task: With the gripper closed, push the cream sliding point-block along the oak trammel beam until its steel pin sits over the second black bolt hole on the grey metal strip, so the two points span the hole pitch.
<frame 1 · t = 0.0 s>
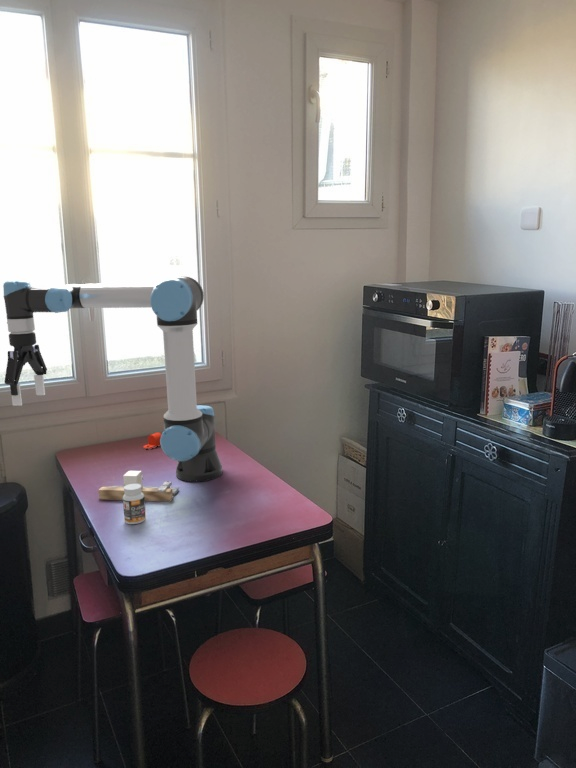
hand: (29, 400, 194), 28 cm above the table, fingers open, 13 cm apart
beam: (136, 498, 187), on the table
hole plate: (141, 492, 192), on the table
pill bottle: (135, 521, 172), on the table
bracket: (155, 446, 238), on the table
fixed leg: (163, 499, 186), resting on beam
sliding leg: (135, 483, 188), point 4 cm above the table, slide at 0.0 cm
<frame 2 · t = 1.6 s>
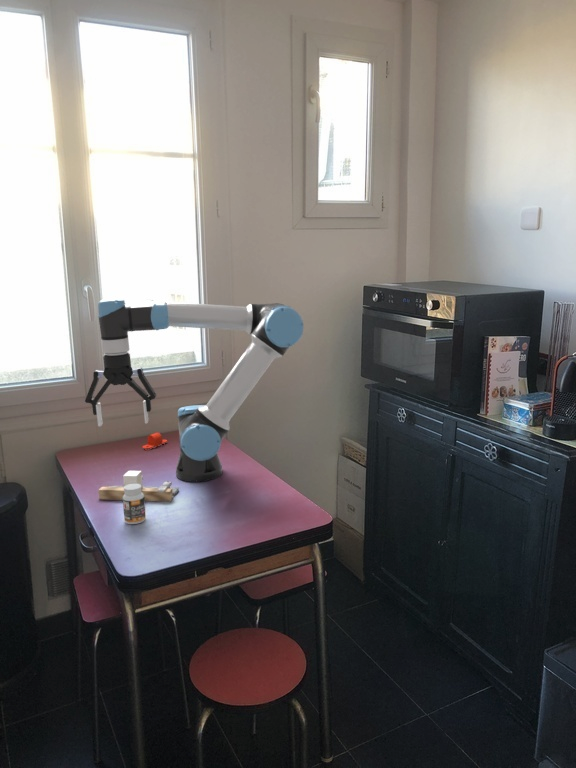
hand: (123, 423, 185), 23 cm above the table, fingers open, 13 cm apart
nothing on the table moved.
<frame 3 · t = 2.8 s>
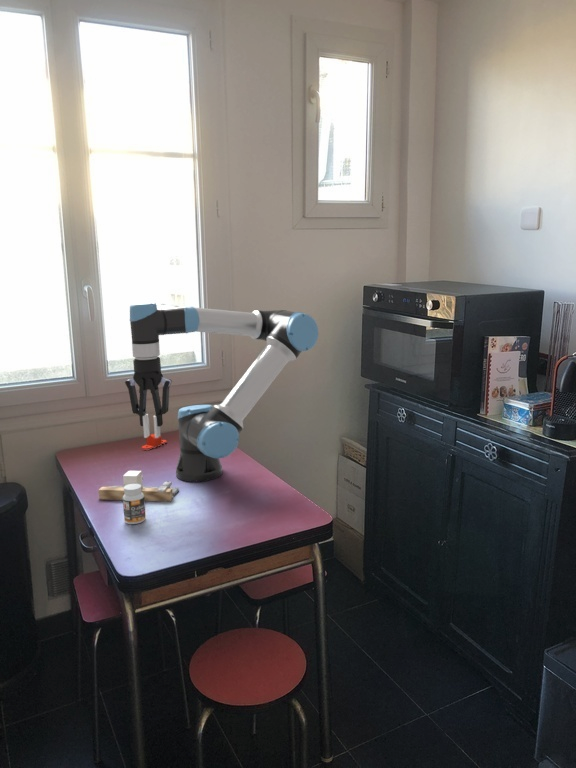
hand: (152, 436, 182), 20 cm above the table, fingers open, 3 cm apart
nothing on the table moved.
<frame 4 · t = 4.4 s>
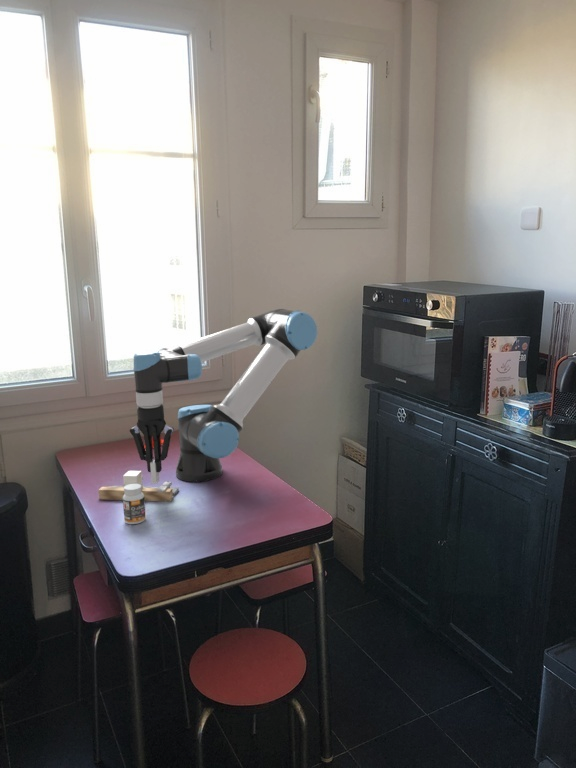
hand: (155, 482, 185), 5 cm above the table, fingers closed
nothing on the table moved.
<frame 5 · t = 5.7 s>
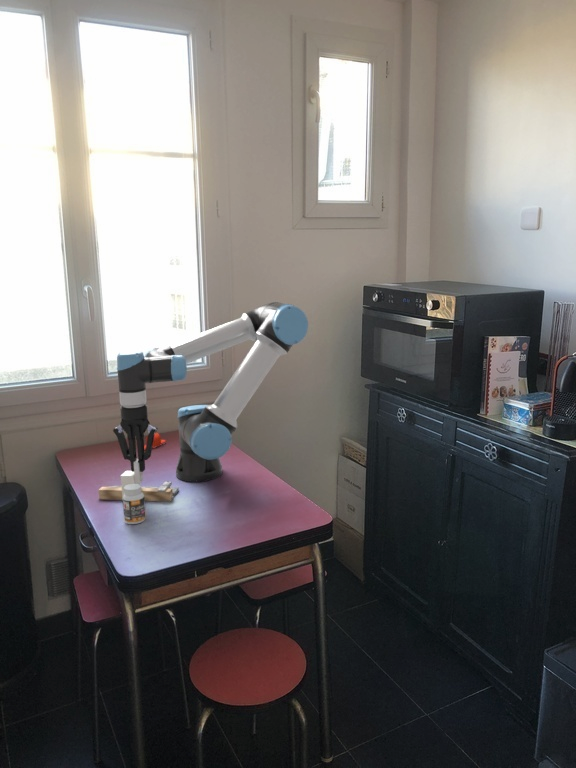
hand: (139, 481, 186), 6 cm above the table, fingers closed
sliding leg: (132, 483, 188), point 4 cm above the table, slide at 0.8 cm, touching gripper
everything else where it was.
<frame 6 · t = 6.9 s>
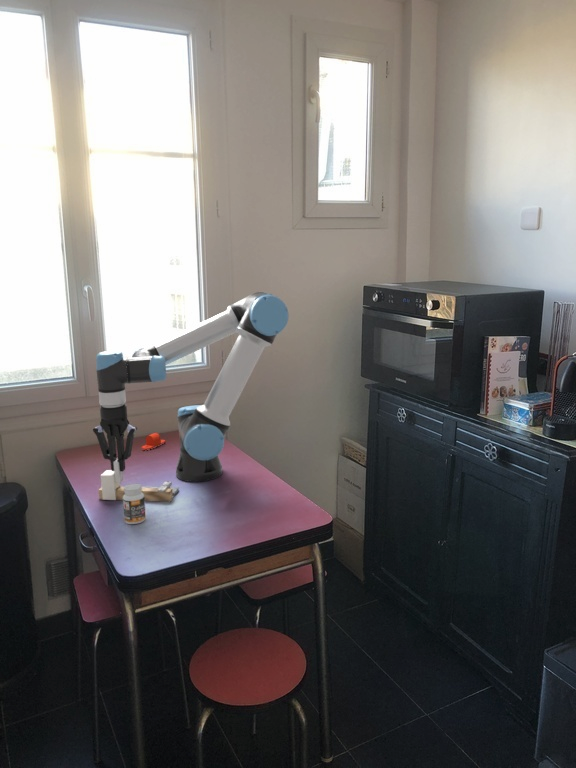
hand: (119, 481, 186), 6 cm above the table, fingers closed
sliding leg: (113, 482, 189), point 4 cm above the table, slide at 7.0 cm, touching gripper
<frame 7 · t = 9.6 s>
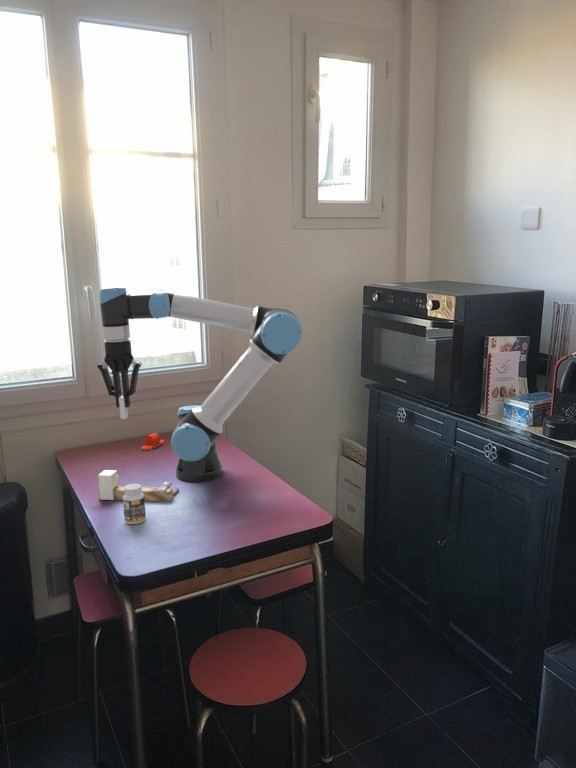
hand: (124, 417, 188), 24 cm above the table, fingers closed
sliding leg: (110, 482, 189), point 4 cm above the table, slide at 7.7 cm
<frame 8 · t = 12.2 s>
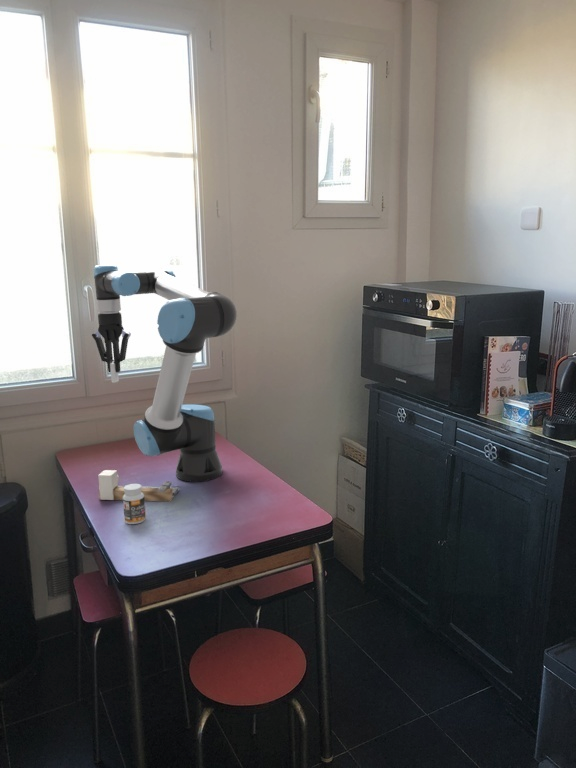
hand: (115, 381, 212), 29 cm above the table, fingers closed
at the end: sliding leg slide at 7.7 cm; the gripper is holding nothing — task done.
